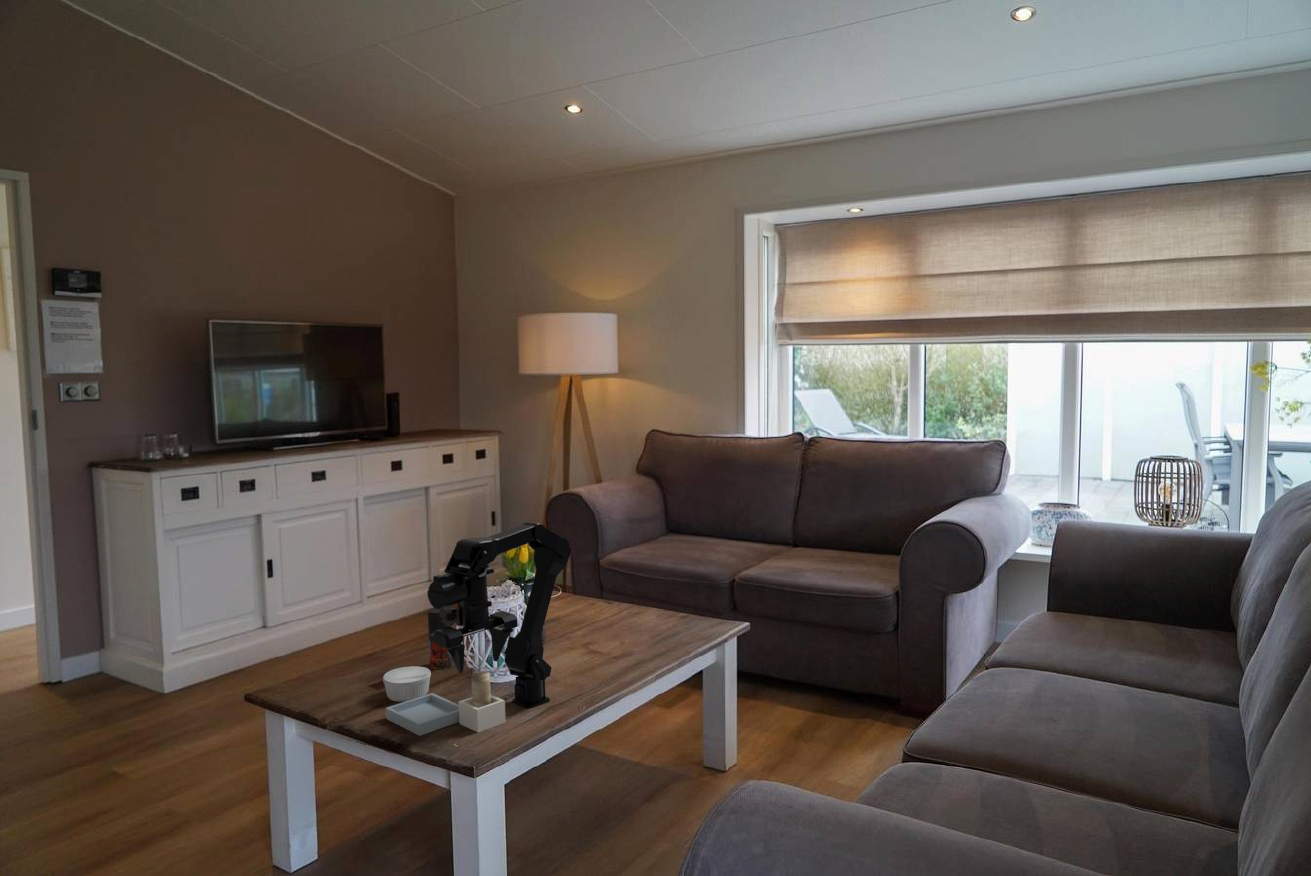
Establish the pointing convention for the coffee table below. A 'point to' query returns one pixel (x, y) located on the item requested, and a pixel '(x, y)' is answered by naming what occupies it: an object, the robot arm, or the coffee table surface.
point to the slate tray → (424, 714)
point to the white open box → (482, 714)
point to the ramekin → (407, 683)
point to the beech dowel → (481, 689)
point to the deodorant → (438, 654)
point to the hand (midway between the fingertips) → (478, 666)
